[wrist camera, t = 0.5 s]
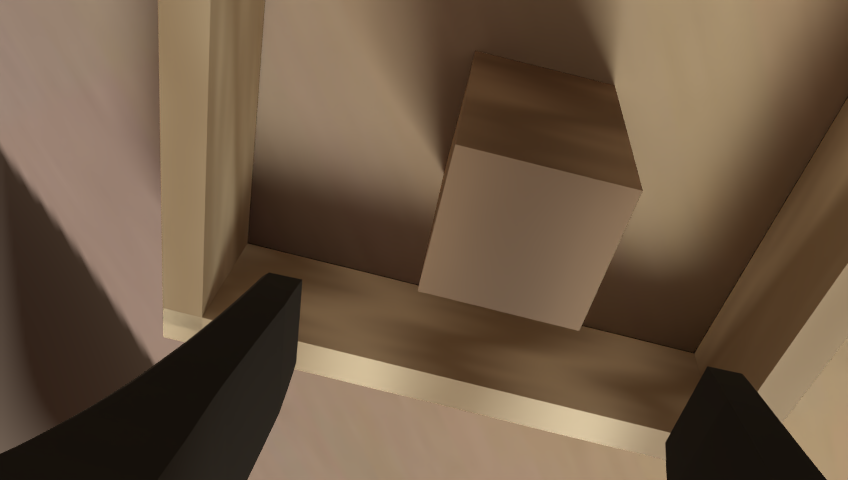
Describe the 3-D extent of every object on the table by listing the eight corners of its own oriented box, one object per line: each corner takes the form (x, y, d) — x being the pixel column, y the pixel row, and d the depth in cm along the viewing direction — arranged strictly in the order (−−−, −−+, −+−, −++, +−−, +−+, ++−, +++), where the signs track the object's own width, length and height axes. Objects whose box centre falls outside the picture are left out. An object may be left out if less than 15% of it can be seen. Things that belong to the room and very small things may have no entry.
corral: (959, 2, 17) (1062, 56, 14) (712, 385, 25) (739, 478, 21) (229, -182, 17) (155, -172, 14) (212, 261, 25) (163, 337, 21)
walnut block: (614, 85, 19) (642, 191, 14) (568, 204, 22) (579, 330, 17) (475, 50, 19) (455, 144, 14) (443, 173, 22) (417, 291, 17)
